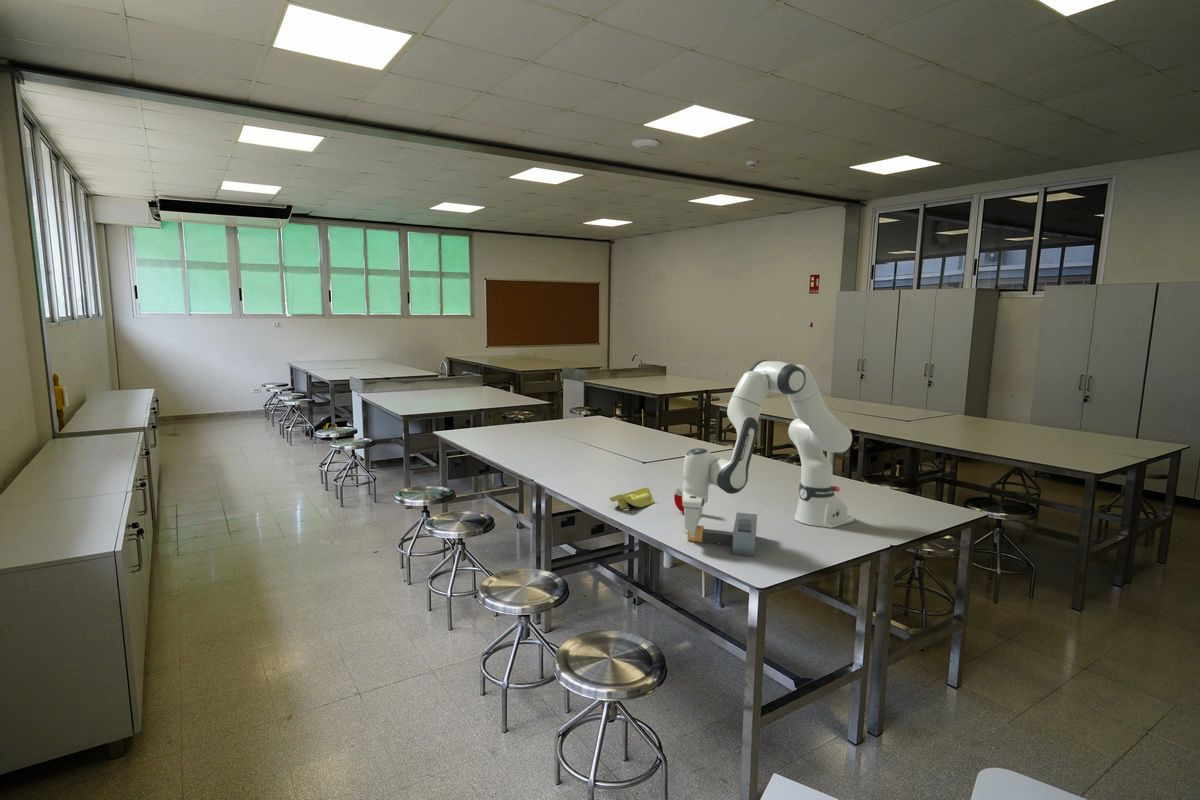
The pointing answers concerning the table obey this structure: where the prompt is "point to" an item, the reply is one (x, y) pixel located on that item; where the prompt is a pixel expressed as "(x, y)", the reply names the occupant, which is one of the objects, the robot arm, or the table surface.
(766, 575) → the table surface
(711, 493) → the table surface
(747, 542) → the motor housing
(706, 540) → the plug
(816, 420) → the robot arm
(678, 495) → the magnet
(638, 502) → the plastic component
